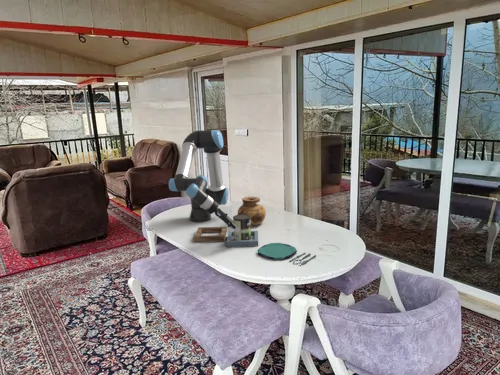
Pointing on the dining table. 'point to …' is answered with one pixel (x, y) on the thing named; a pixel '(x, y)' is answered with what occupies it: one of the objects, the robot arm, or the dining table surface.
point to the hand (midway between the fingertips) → (236, 227)
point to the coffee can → (242, 227)
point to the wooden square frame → (210, 237)
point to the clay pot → (252, 210)
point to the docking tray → (240, 243)
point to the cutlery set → (281, 252)
